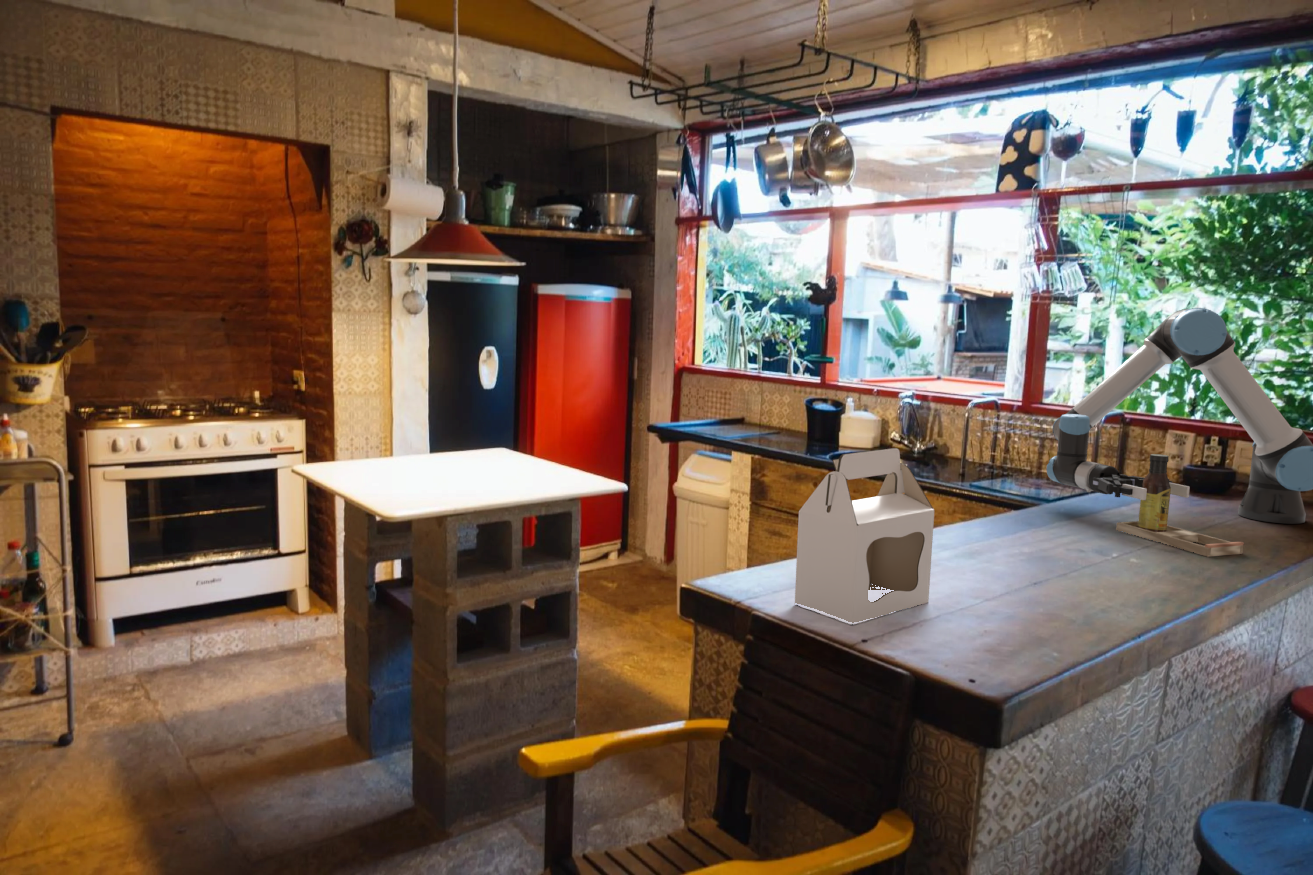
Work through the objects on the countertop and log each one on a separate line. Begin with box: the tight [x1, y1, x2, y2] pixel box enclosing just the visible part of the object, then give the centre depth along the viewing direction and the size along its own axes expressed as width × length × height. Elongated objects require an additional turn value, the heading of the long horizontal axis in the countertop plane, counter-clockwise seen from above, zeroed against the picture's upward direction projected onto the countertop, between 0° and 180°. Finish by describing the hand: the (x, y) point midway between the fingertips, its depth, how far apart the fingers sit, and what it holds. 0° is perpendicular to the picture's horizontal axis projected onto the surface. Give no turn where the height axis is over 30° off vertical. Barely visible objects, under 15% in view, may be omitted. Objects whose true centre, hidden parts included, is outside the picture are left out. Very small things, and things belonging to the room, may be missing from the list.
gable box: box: [794, 447, 935, 623], centre depth 161 cm, size 22×13×28 cm, turn 129°
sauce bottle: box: [1137, 453, 1171, 532], centre depth 221 cm, size 6×6×20 cm
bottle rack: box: [1115, 520, 1245, 557], centre depth 216 cm, size 11×26×3 cm, turn 19°
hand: (1167, 493), depth 218 cm, fingers open, 13 cm apart
